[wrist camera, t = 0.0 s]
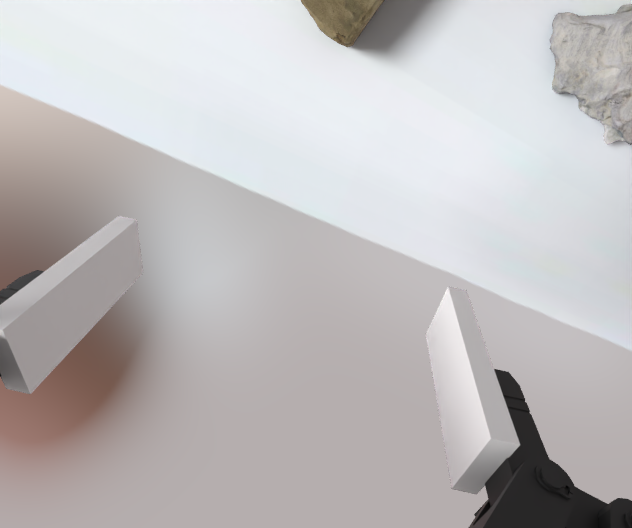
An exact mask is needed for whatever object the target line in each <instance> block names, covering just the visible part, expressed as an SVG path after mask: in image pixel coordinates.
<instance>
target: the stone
mask: <svg viewBox="0 0 632 528" xmlns="http://www.w3.org/2000/svg"><path fill="white" fill-rule="evenodd" d="M552 27H553V33H552V36H551V38H550V43H551V46H550V49H551V51H552V52H553V54H554V56H555V62H556V66H555V72H554V79H553V81H552V87H553V90H554V92H555V93H563V92H568V93H571V94H574V95H576V97H577V99H578V101H579V109H580V110H581V111H583V112H584V113H586V114H587V115H588V116H590V117H591V118H595V119H597V120H601V123H602V124H604V125H605V126H604V127H605V133H604V135H603V137H604V142H605V143H606V144H607V145H609V144H611V143H612V142H615V141H619V140H621V141H626V142H627V143H628V144H630V145H631V144H632V4H626V5H623V6H621V7H620V8H619V10H618V11H617V13H615V14H609V15H592V16H578V15H576V14H573V13H570V12H565V13H558V14H557V15H556V16H555V18H554V20H553V24H552Z"/></svg>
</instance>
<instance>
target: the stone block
mask: <svg viewBox="0 0 632 528" xmlns="http://www.w3.org/2000/svg"><path fill="white" fill-rule="evenodd" d="M384 1H385V0H301V2H302V4H303V5H304V6H305V7H306V8H307V10H308V11H309V13H310V15H311V16H312V17H313V19H314V20H315V22H316V24H317V26H318V27H319V29H320V30H321V31H322V32H323V33H324V34H325V35H327V36H328V37H330V38H331V39H333V40H334V41H336V42H337V43H339V44H341V45H344V46H346V47H350V46H353V44H354V42H355V41H356V39H357V38H358V36H359V35H360V34H361V32H362V31H363V29H364V28H365V26H366V25H367V24H368V22H369V21H370V19H371V18H372V16H373V15H374V14H375V12H376V11H377V9H378V8H379V7H380V5H381V4H382V3H383V2H384Z"/></svg>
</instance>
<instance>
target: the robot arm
mask: <svg viewBox="0 0 632 528" xmlns="http://www.w3.org/2000/svg"><path fill="white" fill-rule="evenodd" d="M142 274H143V266H142V258H141V249H140V242H139V233H138V224H137V219H132V218H127V217H123V216H118V217H117V218H115V219H114V220H113V221H111V222H110V223H109V224H107V225H106V226H105V227H103V228H102V229H101V230H99V231H98V232H97V233H95V234H94V235H93V236H91V237H90V238H89V239H87V240H86V241H85V242H83V243H82V244H81V245H79V246H78V247H77V248H75V249H74V250H73V251H71V252H70V253H69V254H67V255H66V256H65V257H63V258H62V259H61V260H60V261H58V262H57V263H55V264H54V265H53V266H51V267H50V268H49V269H47V270H46V271H45V272H44V271H39V270H37V271H34V272H31V273H29V274H27V275H24V276H22V277H20V278H18V279H17V280H15V281H14V282H13V283H11V284H10V285H8V286H7V288H6V289H3V290H1V291H0V377H1V379H2V381H3V383H4V385H5V387H6V389H10V390H14V391H19V392H23V393H28V394H31V393H32V392H33V391H34V390H35V389H36V388H37V386H38V385H39V384H40V383H41V382H42V381H43V380H44V379H45V378H46V376H48V375H49V373H50V372H51V371H52V370H53V369H54V368H55V367H56V366H57V365H58V364H59V363H60V362H61V361H62V360H63V359H64V358H65V356H66V355H67V354H68V353H69V352H70V351H71V350H72V349H73V348H74V347H75V346H76V345H77V343H78V342H79V341H80V340H81V339H82V338H83V337H84V336H85V335H86V334H87V333H88V332H89V331H90V330H91V328H92V327H93V326H94V325H95V324H96V323H97V322H98V321H99V320H100V318H102V317H103V315H104V314H105V313H106V312H107V311H108V310H109V309H110V308H111V307H112V306H113V305H114V304H115V303H116V302H117V300H118V299H119V298H120V297H121V296H122V295H123V294H124V293H125V292H126V291H127V290H128V289H129V288H130V287H131V285H132V284H133V283H134V282H135V281H136V280H137V279H138V278H139V277H140V276H141V275H142ZM426 338H427V344H428V350H429V356H430V362H431V368H432V374H433V380H434V386H435V392H436V398H437V404H438V410H439V416H440V422H441V428H442V434H443V440H444V446H445V453H446V459H447V464H448V471H449V476H450V483H451V489H454V490H459V491H463V492H468V493H472V494H477V493H478V492H479V491H480V490H481V489H482V488H483V487H484V486H486V490H487V494H488V498H489V499H488V500H487V501H486V502H485V504H484V505H483V506H482V507H481V508H480V509H479V510H478V511H477V512H476V513H475V516H476V517H475V519H474V520H473V522H472V524H471V525H470V527H469V528H632V501H631V500H628V499H623V498H617V499H616V500H614V501H612V502H611V503H609V504H607V503H605V502H602V501H601V500H599V499H597V498H595V497H593V496H591V495H589V494H587V493H585V492H583V491H582V490H580V489H578V488H576V487H575V486H574V484H573V482H572V480H571V479H570V477H569V476H568V474H567V473H566V472H565V471H564V470H563V469H562V468H561V467H560V466H559V465H558V464H556V463H555V462H553V461H551V460H550V459H549V457H548V455H547V453H546V451H545V448H544V445H543V443H542V440H541V438H540V435H539V433H538V430H537V428H536V425H535V423H534V420H533V418H532V415H531V414H530V413H529V412H530V411H529V408H528V405H527V403H526V402H525V398H524V395H523V393H522V391H521V388H520V386H519V384H518V383H517V382H516V381H515V379H514V378H513V377H512V376H511V374H510V373H509V372H506V371H501V370H496V369H494V368H493V365H492V362H491V359H490V356H489V353H488V350H487V348H486V345H485V342H484V339H483V336H482V334H481V330H480V327H479V325H478V322H477V319H476V316H475V314H474V310H473V307H472V304H471V302H470V299H469V296H468V293H467V290H462V289H457V288H452V287H448V288H447V290H446V292H445V294H444V297H443V299H442V301H441V303H440V305H439V307H438V309H437V312H436V314H435V316H434V318H433V320H432V322H431V324H430V326H429V329H428V331H427V333H426Z"/></svg>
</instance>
